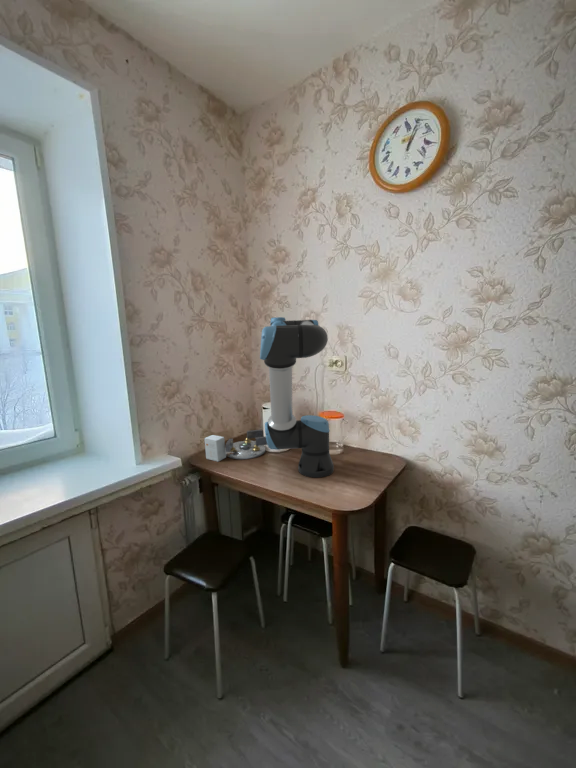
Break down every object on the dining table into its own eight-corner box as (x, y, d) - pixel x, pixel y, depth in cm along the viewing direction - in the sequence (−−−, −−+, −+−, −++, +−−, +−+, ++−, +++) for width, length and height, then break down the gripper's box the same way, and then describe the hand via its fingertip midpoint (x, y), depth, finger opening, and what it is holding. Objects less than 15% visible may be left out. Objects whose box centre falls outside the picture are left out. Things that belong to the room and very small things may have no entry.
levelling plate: (273, 448, 169) (272, 440, 169) (248, 462, 153) (247, 454, 152) (243, 441, 180) (242, 435, 179) (216, 454, 164) (216, 447, 163)
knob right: (244, 443, 171) (243, 432, 170) (243, 441, 174) (243, 430, 173) (263, 441, 173) (262, 430, 172) (262, 439, 176) (261, 428, 175)
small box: (226, 457, 159) (224, 436, 157) (218, 462, 155) (216, 440, 153) (214, 454, 164) (212, 434, 162) (205, 458, 159) (204, 437, 157)
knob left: (228, 448, 165) (228, 437, 164) (236, 448, 165) (235, 437, 164) (224, 456, 155) (223, 444, 154) (231, 456, 155) (231, 444, 154)
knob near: (253, 451, 160) (252, 439, 159) (252, 448, 164) (251, 437, 163) (273, 449, 162) (272, 437, 161) (271, 446, 166) (271, 435, 165)
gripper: (294, 348, 166) (295, 394, 170) (272, 348, 172) (274, 393, 176) (286, 349, 159) (288, 397, 163) (264, 349, 166) (266, 395, 170)
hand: (281, 395), depth 170 cm, fingers closed
